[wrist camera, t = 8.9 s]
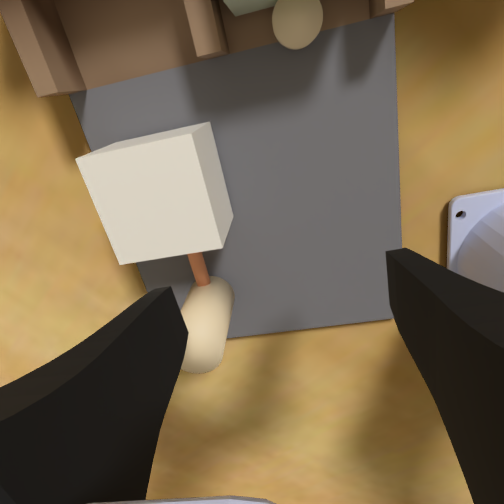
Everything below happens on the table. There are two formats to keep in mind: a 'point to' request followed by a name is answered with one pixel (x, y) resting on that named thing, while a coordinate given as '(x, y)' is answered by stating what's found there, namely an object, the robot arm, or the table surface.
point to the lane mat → (283, 172)
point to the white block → (170, 220)
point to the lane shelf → (143, 36)
